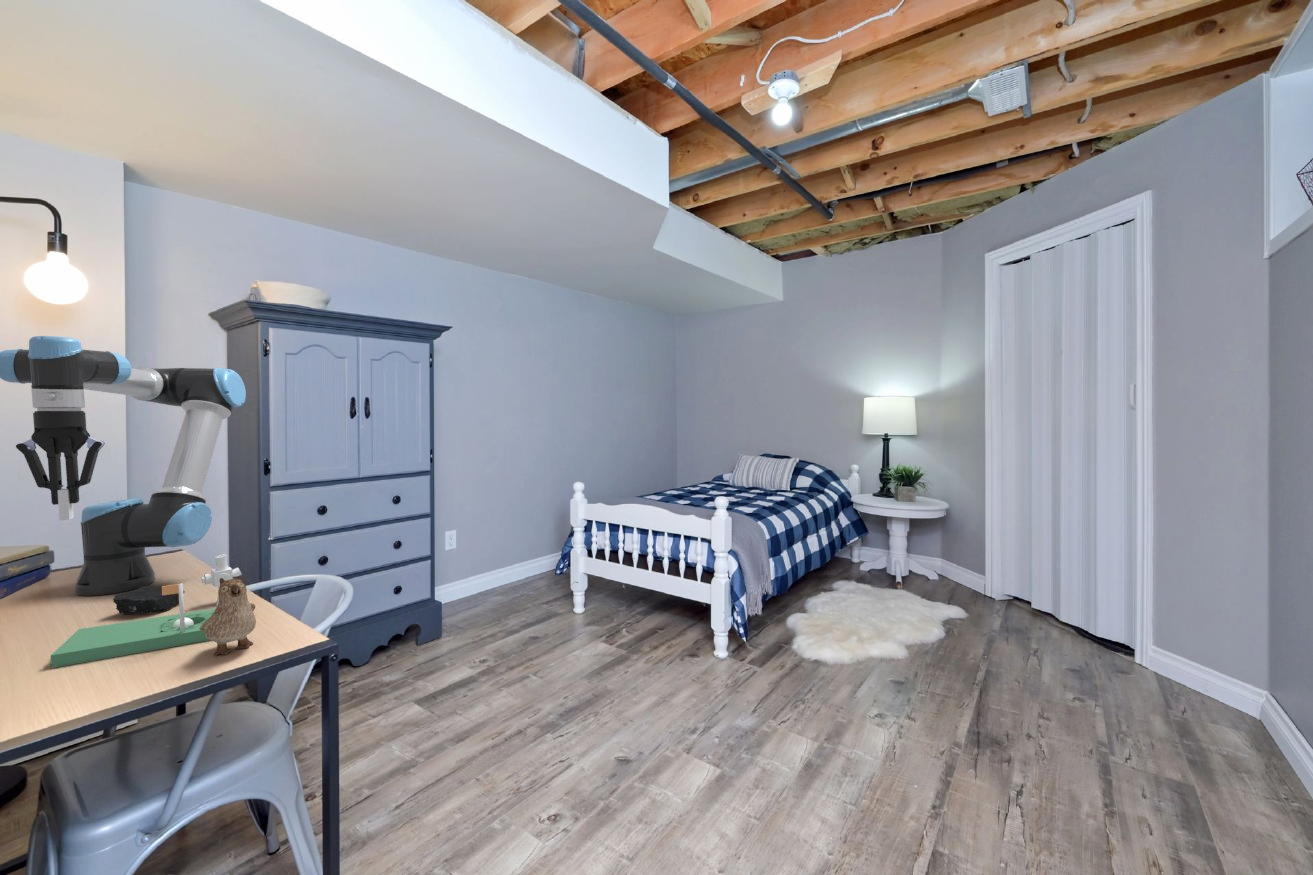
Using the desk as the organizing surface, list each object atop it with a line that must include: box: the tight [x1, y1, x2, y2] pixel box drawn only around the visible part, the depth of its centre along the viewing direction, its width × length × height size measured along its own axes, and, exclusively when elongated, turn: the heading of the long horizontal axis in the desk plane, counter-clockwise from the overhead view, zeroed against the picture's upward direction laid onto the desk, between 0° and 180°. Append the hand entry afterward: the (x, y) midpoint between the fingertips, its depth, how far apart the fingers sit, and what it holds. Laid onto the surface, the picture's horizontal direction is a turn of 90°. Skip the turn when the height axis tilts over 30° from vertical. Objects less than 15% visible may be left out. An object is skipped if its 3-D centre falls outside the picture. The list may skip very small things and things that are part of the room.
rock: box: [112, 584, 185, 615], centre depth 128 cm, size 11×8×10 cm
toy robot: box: [201, 553, 243, 607], centre depth 133 cm, size 4×8×12 cm, turn 138°
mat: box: [50, 583, 217, 669], centre depth 112 cm, size 14×24×12 cm, turn 122°
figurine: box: [199, 575, 257, 656], centre depth 107 cm, size 9×10×15 cm
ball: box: [172, 617, 194, 627], centre depth 115 cm, size 4×4×4 cm
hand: (66, 518), depth 117 cm, fingers closed
